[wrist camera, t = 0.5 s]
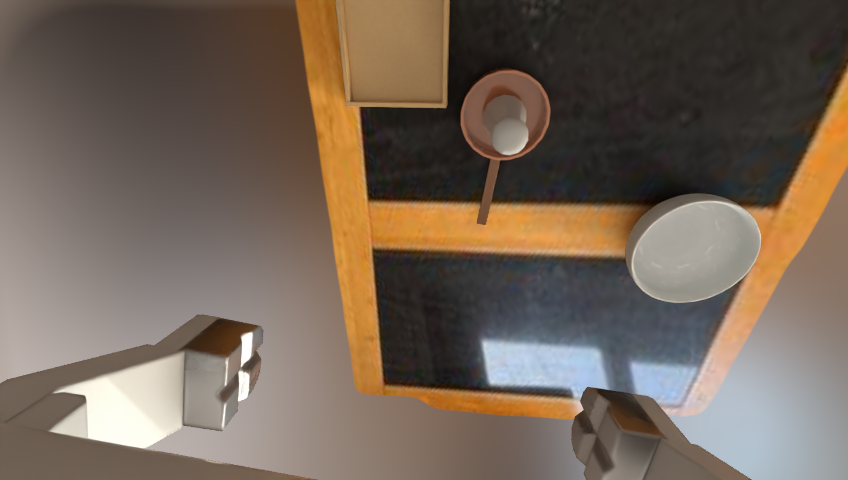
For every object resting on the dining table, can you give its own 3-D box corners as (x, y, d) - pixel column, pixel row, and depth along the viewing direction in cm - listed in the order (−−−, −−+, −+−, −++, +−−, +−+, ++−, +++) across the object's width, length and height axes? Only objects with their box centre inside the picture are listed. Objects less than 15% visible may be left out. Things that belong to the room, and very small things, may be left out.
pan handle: (490, 154, 56) (491, 156, 56) (500, 155, 56) (500, 157, 56) (477, 221, 62) (477, 223, 61) (485, 222, 62) (485, 225, 61)
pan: (517, 47, 51) (519, 49, 48) (562, 121, 55) (566, 126, 52) (445, 104, 55) (443, 109, 53) (491, 168, 59) (492, 175, 57)
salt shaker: (475, 105, 55) (474, 128, 44) (513, 83, 53) (522, 101, 42) (494, 141, 57) (498, 172, 46) (531, 121, 55) (544, 148, 44)
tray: (333, -72, 47) (327, -76, 45) (451, -76, 45) (450, -80, 43) (350, 103, 57) (346, 106, 55) (447, 104, 55) (446, 108, 53)
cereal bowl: (719, 275, 64) (744, 302, 57) (610, 278, 66) (623, 305, 60) (747, 176, 55) (780, 196, 49) (622, 185, 58) (639, 205, 52)
